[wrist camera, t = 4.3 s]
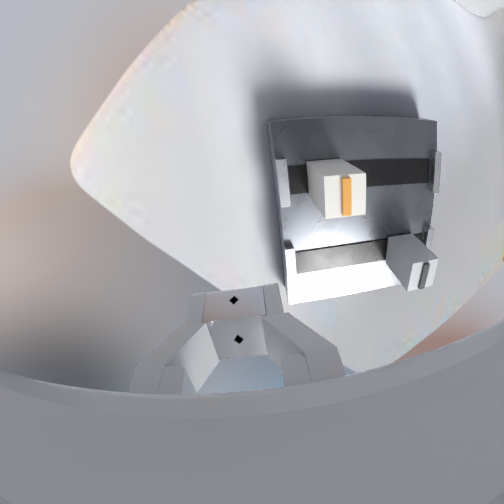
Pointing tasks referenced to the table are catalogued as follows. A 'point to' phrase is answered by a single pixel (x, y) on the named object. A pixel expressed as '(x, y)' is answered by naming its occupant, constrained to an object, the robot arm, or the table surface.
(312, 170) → the fader
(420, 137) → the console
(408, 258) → the fader
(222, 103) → the table surface
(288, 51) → the table surface
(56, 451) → the robot arm
